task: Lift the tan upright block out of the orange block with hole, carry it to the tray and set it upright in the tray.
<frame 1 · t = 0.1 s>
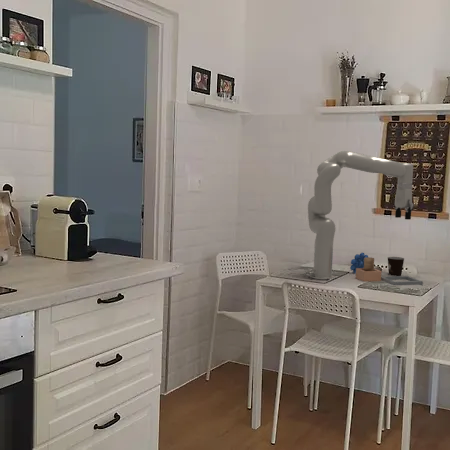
hand: (402, 218, 333), 31 cm above the table, tool pointing down, fingers open, 9 cm apart
tray: (400, 283, 315), on the table
tan upright block: (368, 279, 319), point 1 cm above the table, touching orange block with hole
orange block with hole: (368, 281, 319), on the table
grapes: (358, 274, 338), on the table
coffee mug: (394, 276, 336), on the table
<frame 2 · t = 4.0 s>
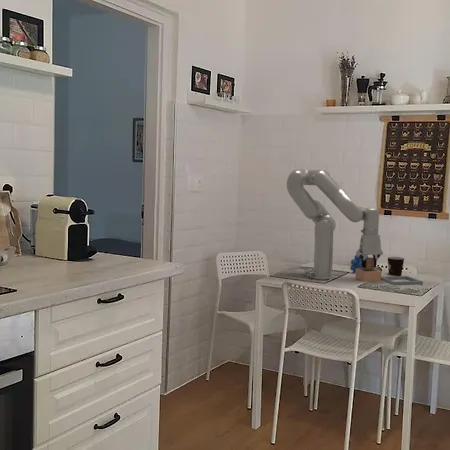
hand: (368, 267, 318), 7 cm above the table, tool pointing down, fingers closed on tan upright block, 4 cm apart
tan upright block: (368, 279, 319), point 1 cm above the table, touching orange block with hole, gripper
everything else where it was.
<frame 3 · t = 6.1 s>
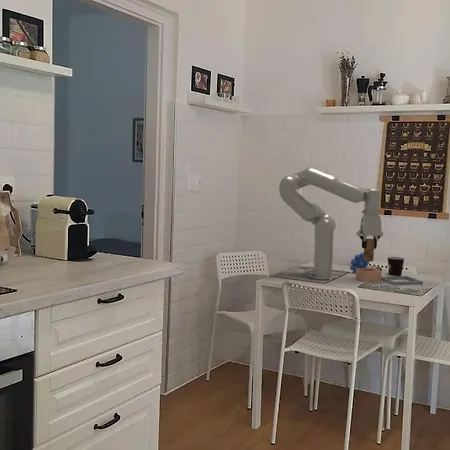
hand: (369, 248, 317), 17 cm above the table, tool pointing down, fingers closed on tan upright block, 4 cm apart
tan upright block: (368, 260, 318), point 11 cm above the table, touching gripper
everything else where it was.
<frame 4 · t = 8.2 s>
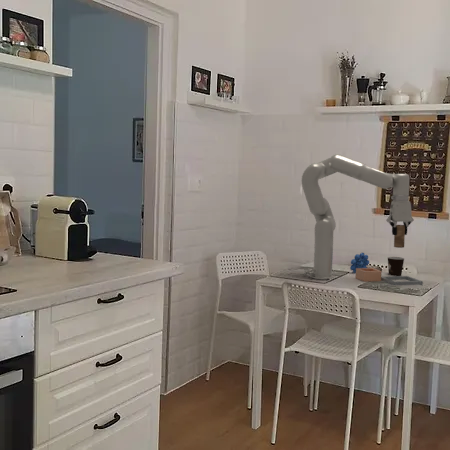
hand: (399, 234, 312), 25 cm above the table, tool pointing down, fingers closed on tan upright block, 4 cm apart
tan upright block: (399, 246, 313), point 19 cm above the table, touching gripper
everything else where it was.
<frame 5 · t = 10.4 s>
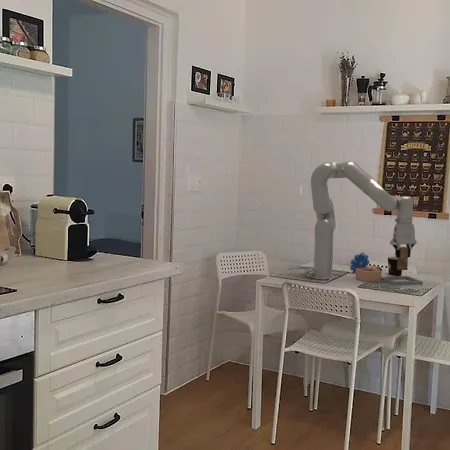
hand: (402, 256, 313), 14 cm above the table, tool pointing down, fingers closed on tan upright block, 4 cm apart
tan upright block: (402, 269, 314), point 7 cm above the table, touching gripper
everything else where it was.
when the fingers open (8 cm above the table, at t = 12.3 s): tan upright block drops 1 cm, resting on tray.
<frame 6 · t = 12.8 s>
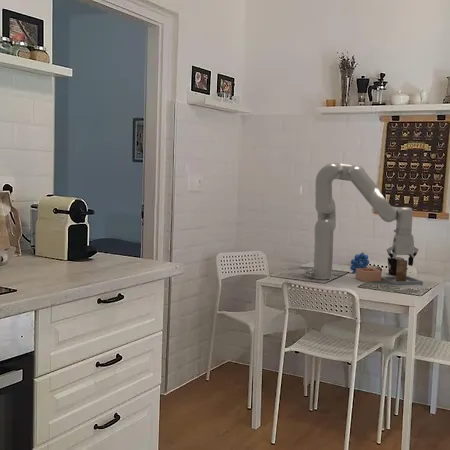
hand: (401, 265, 314), 9 cm above the table, tool pointing down, fingers open, 9 cm apart
tan upright block: (400, 282, 315), point 1 cm above the table, touching tray
everything else where it was.
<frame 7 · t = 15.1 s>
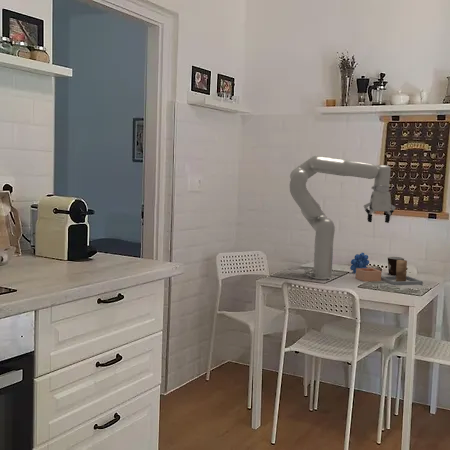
hand: (378, 222, 322), 30 cm above the table, tool pointing down, fingers open, 9 cm apart
nothing on the table moved.
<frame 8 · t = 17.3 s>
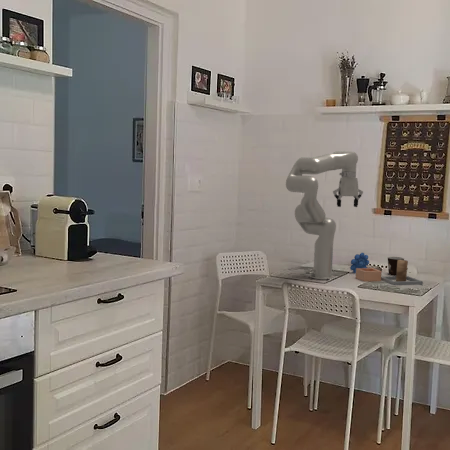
hand: (347, 206, 337), 36 cm above the table, tool pointing down, fingers open, 9 cm apart
nothing on the table moved.
at the end: tan upright block inside the target area on the tray (0.1 cm from its centre), point 0.9 cm above the tray's base; tan upright block tilted 2°; the gripper is holding nothing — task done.
